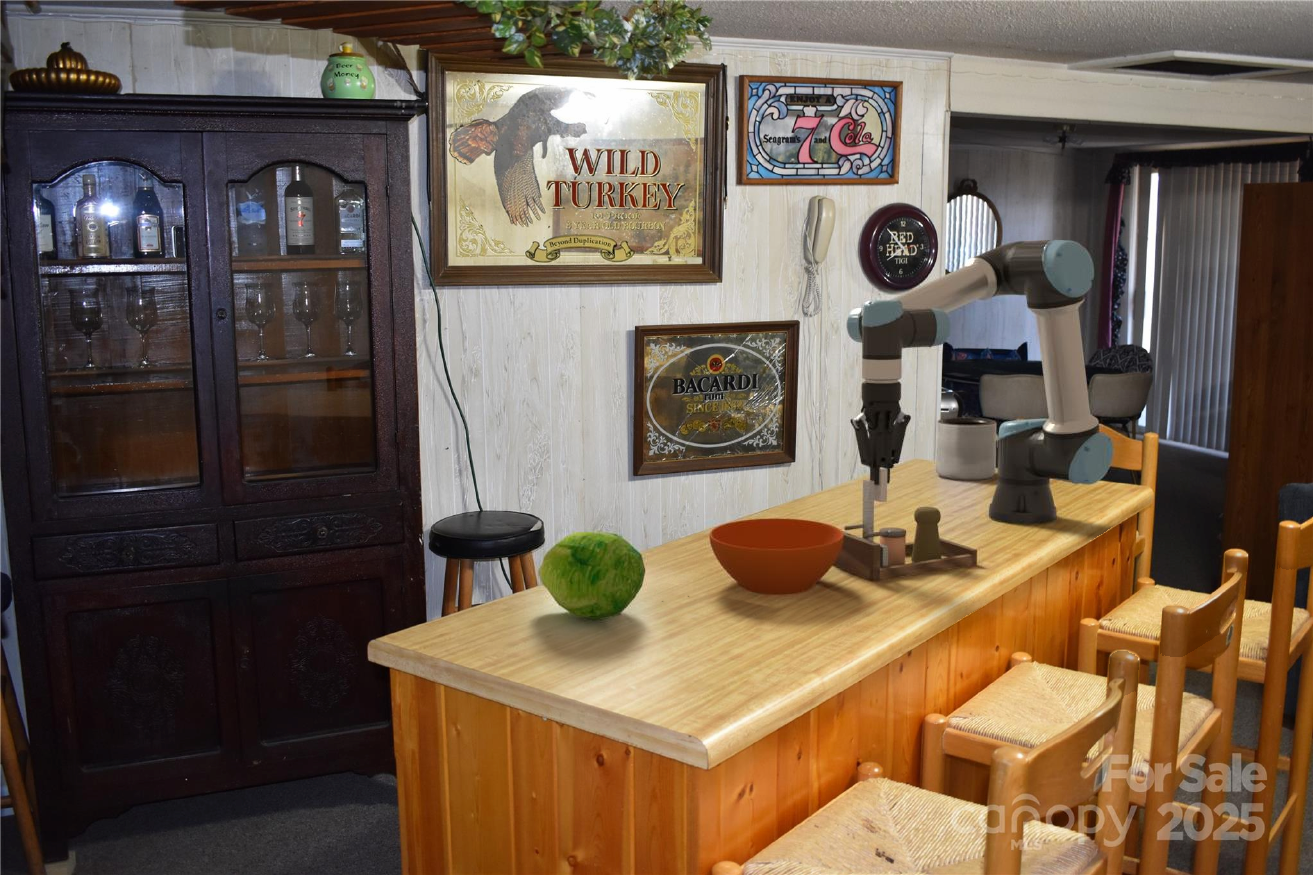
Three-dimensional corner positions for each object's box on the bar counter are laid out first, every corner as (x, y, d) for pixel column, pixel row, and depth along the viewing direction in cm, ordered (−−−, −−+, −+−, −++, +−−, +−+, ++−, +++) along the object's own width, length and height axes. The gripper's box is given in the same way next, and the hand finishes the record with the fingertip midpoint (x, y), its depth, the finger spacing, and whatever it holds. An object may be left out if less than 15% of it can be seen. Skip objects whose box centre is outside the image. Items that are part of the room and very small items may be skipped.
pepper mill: (942, 565, 228) (943, 511, 227) (911, 564, 229) (912, 510, 228) (941, 557, 234) (942, 504, 232) (911, 556, 235) (911, 503, 234)
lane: (930, 548, 241) (931, 509, 240) (976, 564, 228) (977, 523, 227) (830, 564, 230) (830, 523, 229) (873, 581, 218) (873, 538, 216)
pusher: (853, 560, 231) (854, 475, 228) (887, 574, 221) (888, 485, 218) (848, 561, 230) (849, 476, 228) (882, 575, 220) (883, 485, 218)
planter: (938, 481, 313) (939, 425, 311) (933, 470, 329) (934, 417, 327) (998, 482, 311) (1000, 425, 308) (991, 471, 326) (993, 417, 324)
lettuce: (580, 607, 212) (579, 525, 212) (664, 616, 199) (663, 529, 199) (514, 619, 199) (512, 532, 199) (599, 630, 186) (597, 537, 186)
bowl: (755, 612, 200) (755, 556, 199) (686, 578, 222) (685, 528, 221) (871, 590, 212) (871, 537, 210) (794, 560, 234) (794, 512, 232)
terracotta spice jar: (894, 561, 232) (895, 526, 230) (911, 567, 227) (911, 531, 226) (873, 564, 229) (874, 529, 228) (889, 570, 225) (890, 534, 224)
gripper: (896, 377, 227) (894, 494, 231) (842, 380, 222) (840, 500, 225) (920, 380, 221) (918, 500, 224) (865, 384, 215) (863, 507, 219)
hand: (879, 500), depth 225 cm, fingers closed
